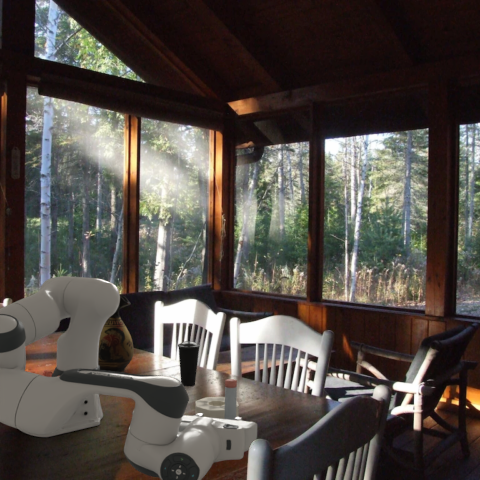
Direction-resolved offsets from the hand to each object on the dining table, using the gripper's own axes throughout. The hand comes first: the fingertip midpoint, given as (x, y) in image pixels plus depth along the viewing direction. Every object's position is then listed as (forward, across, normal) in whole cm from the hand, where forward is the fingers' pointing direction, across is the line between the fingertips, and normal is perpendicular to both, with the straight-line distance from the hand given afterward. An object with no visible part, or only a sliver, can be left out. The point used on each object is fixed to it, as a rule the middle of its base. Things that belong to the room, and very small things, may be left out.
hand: (219, 418), depth 125 cm
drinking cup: (+53, -25, -8) cm, 59 cm away
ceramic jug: (+60, -58, -8) cm, 84 cm away
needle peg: (+11, 0, -8) cm, 14 cm away
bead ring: (+25, -7, -8) cm, 27 cm away
